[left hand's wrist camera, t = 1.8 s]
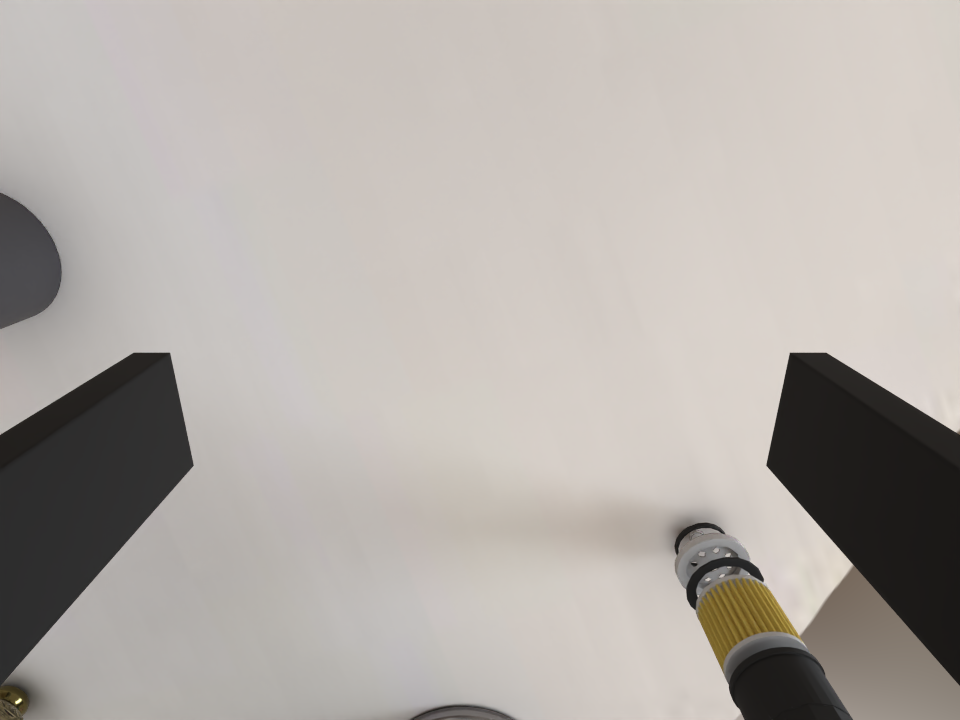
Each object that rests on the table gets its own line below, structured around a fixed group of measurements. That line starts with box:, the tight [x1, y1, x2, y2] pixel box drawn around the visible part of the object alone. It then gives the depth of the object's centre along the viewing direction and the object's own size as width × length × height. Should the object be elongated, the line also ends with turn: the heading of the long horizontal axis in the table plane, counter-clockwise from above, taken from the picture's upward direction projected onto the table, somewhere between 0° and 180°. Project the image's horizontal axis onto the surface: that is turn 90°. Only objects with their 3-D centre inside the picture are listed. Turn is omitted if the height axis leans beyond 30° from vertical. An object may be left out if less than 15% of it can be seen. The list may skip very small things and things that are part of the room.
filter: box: [675, 523, 853, 720], centre depth 33 cm, size 6×6×30 cm
